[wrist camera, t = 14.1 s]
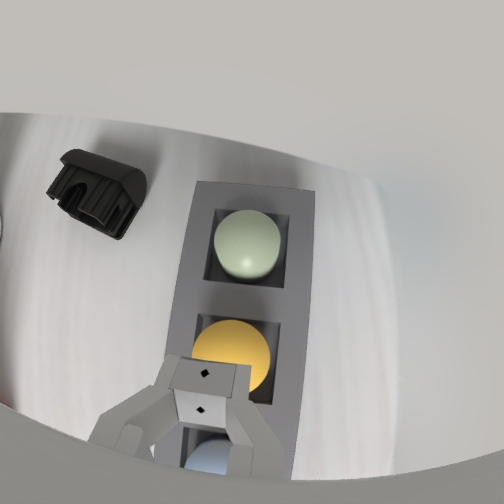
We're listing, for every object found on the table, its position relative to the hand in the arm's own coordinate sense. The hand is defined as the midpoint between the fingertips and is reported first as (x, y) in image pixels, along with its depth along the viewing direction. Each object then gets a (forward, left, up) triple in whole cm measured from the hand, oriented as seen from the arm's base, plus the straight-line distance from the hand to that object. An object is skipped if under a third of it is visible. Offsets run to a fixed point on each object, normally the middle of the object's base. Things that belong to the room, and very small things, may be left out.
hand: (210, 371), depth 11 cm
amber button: (0, +1, -12) cm, 12 cm away
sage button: (0, +9, -13) cm, 16 cm away
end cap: (-18, +16, -20) cm, 31 cm away
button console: (0, +1, -19) cm, 19 cm away
